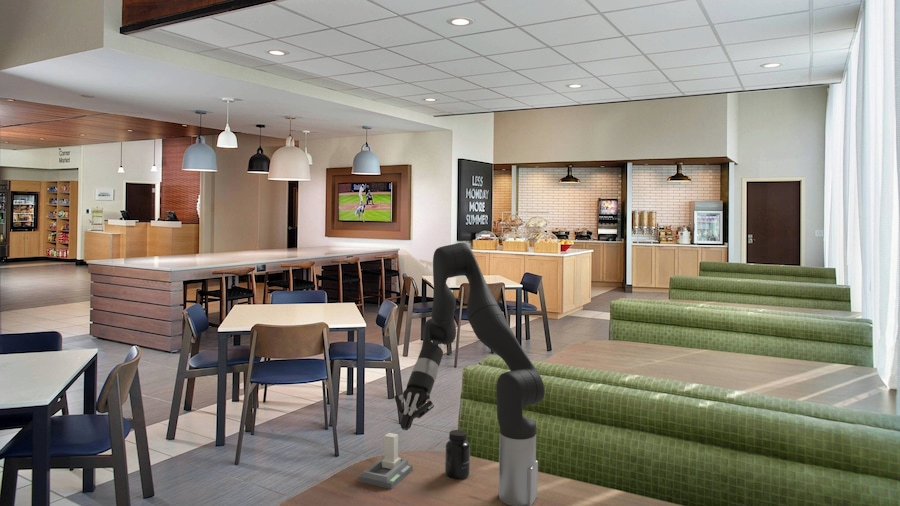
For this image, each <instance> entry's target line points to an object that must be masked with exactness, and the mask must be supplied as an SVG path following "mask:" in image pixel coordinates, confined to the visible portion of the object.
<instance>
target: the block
mask: <svg viewBox="0 0 900 506" xmlns="http://www.w3.org/2000/svg"><path fill="white" fill-rule="evenodd" d="M383 438H384V440H383V441H384V443H383V445H384V446H383V447H384V453H383V454H384V455H383V456H384V460H382V467H383V468H388V469H393V468H394V467H395V466H396V465H397V464H399V463H400V462H401V458H402V457H399V434H397V433H392V432H388V433H386V434H385V435H384V437H383Z"/></svg>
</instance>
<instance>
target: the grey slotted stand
mask: <svg viewBox="0 0 900 506" xmlns="http://www.w3.org/2000/svg"><path fill="white" fill-rule="evenodd" d="M400 458H401V462H400V463H399V464H397V465H396V466H395V467H394V468H393V469H388V468H383V467H382V460H384V455H383V456H382V457H381V458H379V459H377V460H376V461H375V462H374V463H373V464H371V465H370V466H369V467H368V468H366V469H365V470H364V471H362V473H361V474H360V475H359V476H358V482H359V483H363V484H367V485H372V486H377V487H381V488H386V489H389V490H392V489H393V488H394V487H396V485H398V484H399V483H400V482H402V481H403V479H405V478H406V477H408V475H409V474H410V473H411V472H413V464H412V465H411V464H409V459H407V458H404V457H400Z"/></svg>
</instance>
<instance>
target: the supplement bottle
mask: <svg viewBox="0 0 900 506" xmlns="http://www.w3.org/2000/svg"><path fill="white" fill-rule="evenodd" d="M467 435H468V433H467V431H465V430H464V429H452V430H451V431H449V435H448V436H449V437H448V441H447V442H446V443H445V458H444V459H445V462H444V463H445V464H444V466H445V467H444V471H445V476H447V478H449V479H452V480H463V479H466V478H468V477H469V476H470V471H471V469H470V468H471V467H470V466H471V443H469V441H468V436H467Z"/></svg>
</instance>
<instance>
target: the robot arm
mask: <svg viewBox="0 0 900 506" xmlns="http://www.w3.org/2000/svg"><path fill="white" fill-rule="evenodd" d="M432 270H433V271H432V275H433V276H432V278H433V279H432V280H433V282H432V283H433V301H432V309H431V318H428V319H427V321H426V322H425V323H424V326H423V337H422V346H421V349H420V352H419V354H418V357H417V360H416V362H415V364H414V366H413V368H412V371H411V374H410V376H409V379H408V381H407V385H406V388H405V390H403V392H402V394H400V395H397V394H396V395H395V396H394V400H395V403H396V406H397V409H398V412H399V414H400V415H401V416H402V417H401V421H400V422H399V423H400V424H399V425H400V428H401V429H402V430H404V431H408V430H410V429H411V427H412V424H413V421H414V420H415V419H421V418H422V417H423V416H424V415H426V414H427V413H428V412H430V411H431V410H432V409H434V408H435V405H434V403H433V402H432V401H431V397H430V395H431V393H432V391H433V387H434V384H435V381H436V379H437V375H438V372H439V366H440V365H441V362H442V359H443V355H444V351H443V349H442V348H441V347H440V346H439V345H437V344H436V343H438V344H442V345H444V346H445V345H446V346H449V345H451V344H452V343H454V341H455V339H456V337H457V326H456V323H455V311H456V306H457V300H456V295H455V294H454V292H453V291H452V290H451V288H450V287H449V285H448V284H447V281H448V278H454V277H458V276H459V277H460V276H463V275H464V276H465V277H466V279H467V281H468V284H469V294H468V299H467V304H466V318H467V321H468V322H469V325H470V327H471V328H472V330H473V333H474V334H475V336H476V337H477V339H478V340H479V341H480V342H481V343H482V344H483V345H484V346H486V347H487V348H488V349H490V350H491V351H492V352H494V353H495V354H497V356H498V357H500V358H501V359H502V360H503V362H504V363H505V364H506V365H507V367H508V369H509V371H506V372H503V373H501V374H500V375H499V376H498V378H497V381H496V389H495V391H496V393H495V395H496V415H497V422H498V425H499V446H498V447H499V450H498V451H499V452H498V453H499V458H498V460H499V461H498V463H499V464H498V466H499V467H498V498H499V501H500V502H501V503H503V504H505V505H508V506H532V505H533V503H534V502H535V501H536V499H537V498H538V484H539V481H538V480H539V479H538V476H539V475H538V474H539V461H538V460H537V423H536V422H535V421H534V420H533V419H532V418H530V417H527V416H524V415H523V408H524V407H528V406H532V405H536V404H539V403H540V402H542V401H543V400H544V397H545V392H546V391H545V385H544V381H543V378H542V376H541V375H540V372H539V371H538V369H537V368H536V367H535V365H534V363H533V362H532V360H530V358H529V356H528V355H527V354H526V352H525V351H524V349H523V347H522V346H521V344H520V342H519V341H518V339H517V337H516V336H515V333H514V332H513V330H512V328H511V327H510V325H509V323H508V322H509V321H508V320H507V318H506V317H505V315H504V313H503V311H502V309H501V307H500V305H499V303H498V301H497V300H496V298H495V297H494V295H493V292H492V291H491V290H490V287H489V285H488V283H487V282H486V279H485V277H484V274H483V272H482V270H481V268H480V266H479V262H478V260H477V259H476V256H475V254H474V252H473V250H472V249H471V247H470V246H469V244H468V243H466V242H455V243H453V244H448V245H443V246H440V247H437V248H436V249H435V251H434V252H433V256H432ZM434 342H436V343H434ZM404 402H405V404H404V405H403V403H404Z"/></svg>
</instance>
